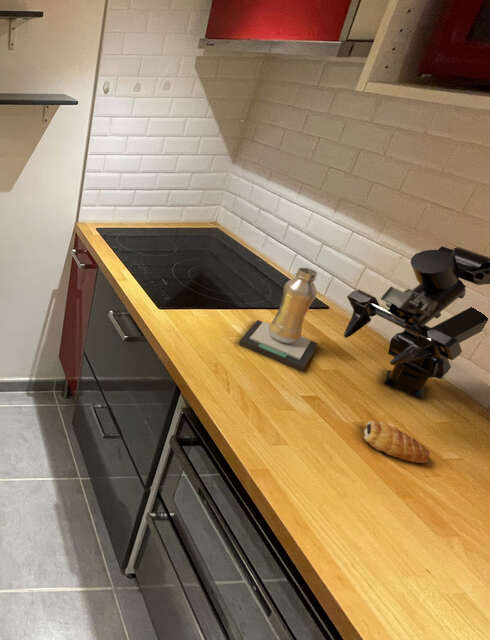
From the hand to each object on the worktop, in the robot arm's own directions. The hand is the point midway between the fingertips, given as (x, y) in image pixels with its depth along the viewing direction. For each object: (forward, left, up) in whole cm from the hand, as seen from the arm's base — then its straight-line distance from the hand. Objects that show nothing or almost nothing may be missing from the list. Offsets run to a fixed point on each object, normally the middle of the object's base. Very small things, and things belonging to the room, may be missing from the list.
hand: (366, 349), depth 93 cm
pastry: (+9, +9, -14) cm, 19 cm away
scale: (-11, -15, -14) cm, 23 cm away
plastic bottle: (-12, -15, -12) cm, 22 cm away
